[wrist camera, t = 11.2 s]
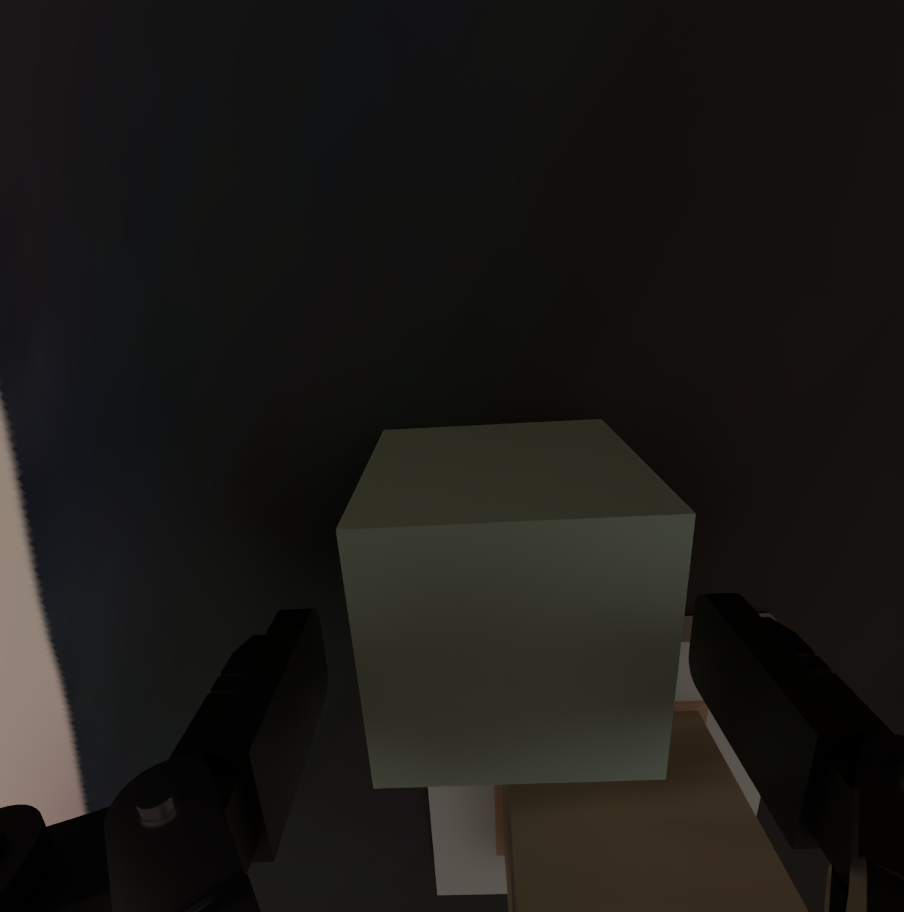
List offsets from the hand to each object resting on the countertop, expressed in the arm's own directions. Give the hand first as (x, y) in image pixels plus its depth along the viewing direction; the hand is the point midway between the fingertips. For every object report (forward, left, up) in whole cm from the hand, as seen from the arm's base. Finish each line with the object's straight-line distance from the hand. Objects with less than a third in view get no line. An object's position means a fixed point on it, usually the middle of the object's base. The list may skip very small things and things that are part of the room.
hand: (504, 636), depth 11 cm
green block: (0, 0, -5) cm, 5 cm away
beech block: (+9, +3, -3) cm, 10 cm away
